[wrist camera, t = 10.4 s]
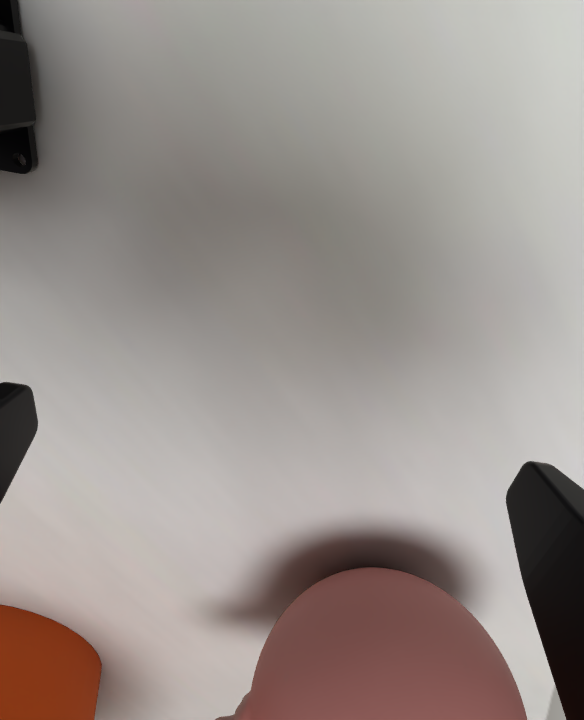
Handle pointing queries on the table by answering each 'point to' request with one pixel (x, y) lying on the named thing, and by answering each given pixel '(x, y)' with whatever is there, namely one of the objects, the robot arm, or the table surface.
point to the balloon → (379, 656)
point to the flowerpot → (45, 669)
